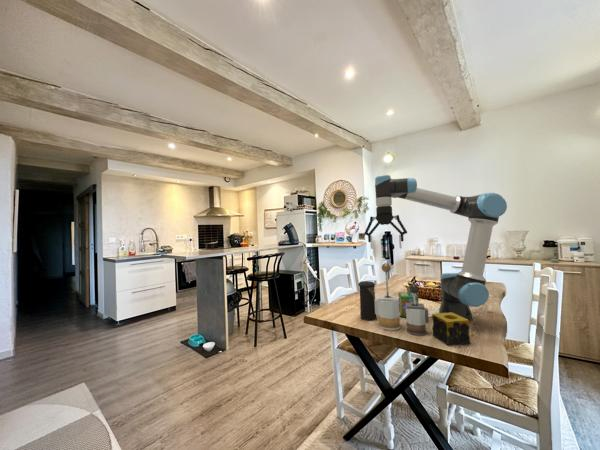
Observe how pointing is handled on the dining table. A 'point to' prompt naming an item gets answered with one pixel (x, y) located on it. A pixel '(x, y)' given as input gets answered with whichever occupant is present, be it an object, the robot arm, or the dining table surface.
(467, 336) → the dark box with hole
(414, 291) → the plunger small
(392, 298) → the press large
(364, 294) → the container
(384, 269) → the plunger large
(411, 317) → the press small
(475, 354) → the dining table surface
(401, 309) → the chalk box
